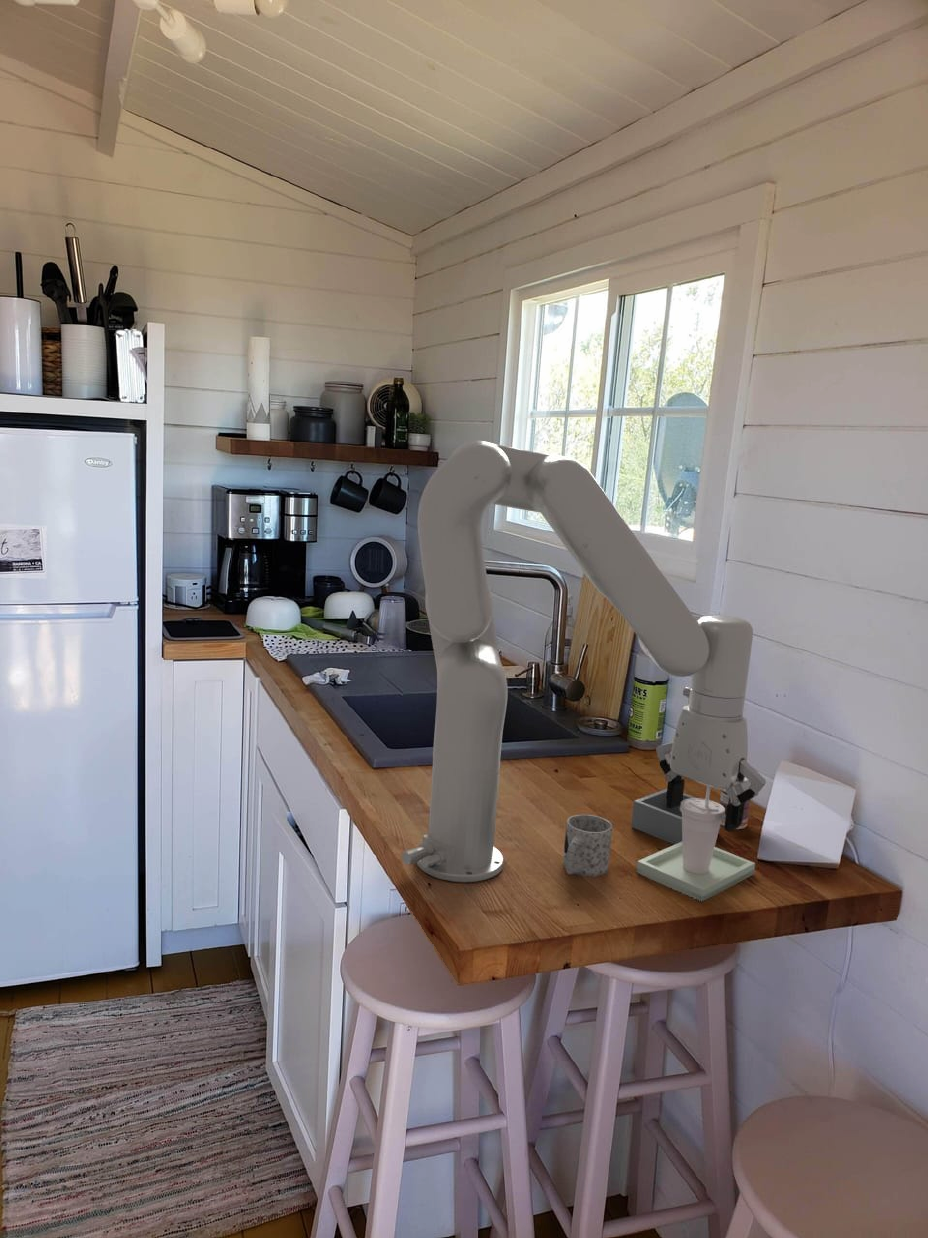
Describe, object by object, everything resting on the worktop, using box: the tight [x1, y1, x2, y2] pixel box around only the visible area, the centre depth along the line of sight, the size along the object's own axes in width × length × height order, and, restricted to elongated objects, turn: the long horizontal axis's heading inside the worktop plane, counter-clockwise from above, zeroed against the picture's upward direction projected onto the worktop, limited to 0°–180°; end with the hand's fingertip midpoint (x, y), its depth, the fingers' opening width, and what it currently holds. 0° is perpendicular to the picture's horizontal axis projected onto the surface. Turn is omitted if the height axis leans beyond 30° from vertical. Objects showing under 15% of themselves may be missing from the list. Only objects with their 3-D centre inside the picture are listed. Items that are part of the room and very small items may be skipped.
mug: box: [562, 814, 613, 877], centre depth 139 cm, size 10×7×7 cm
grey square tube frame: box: [630, 788, 697, 845], centre depth 156 cm, size 10×10×4 cm
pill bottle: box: [719, 777, 751, 830], centre depth 159 cm, size 5×5×8 cm
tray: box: [636, 842, 756, 903], centre depth 141 cm, size 14×11×2 cm
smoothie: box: [680, 785, 725, 874], centre depth 139 cm, size 6×6×14 cm
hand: (702, 817), depth 139 cm, fingers open, 9 cm apart
